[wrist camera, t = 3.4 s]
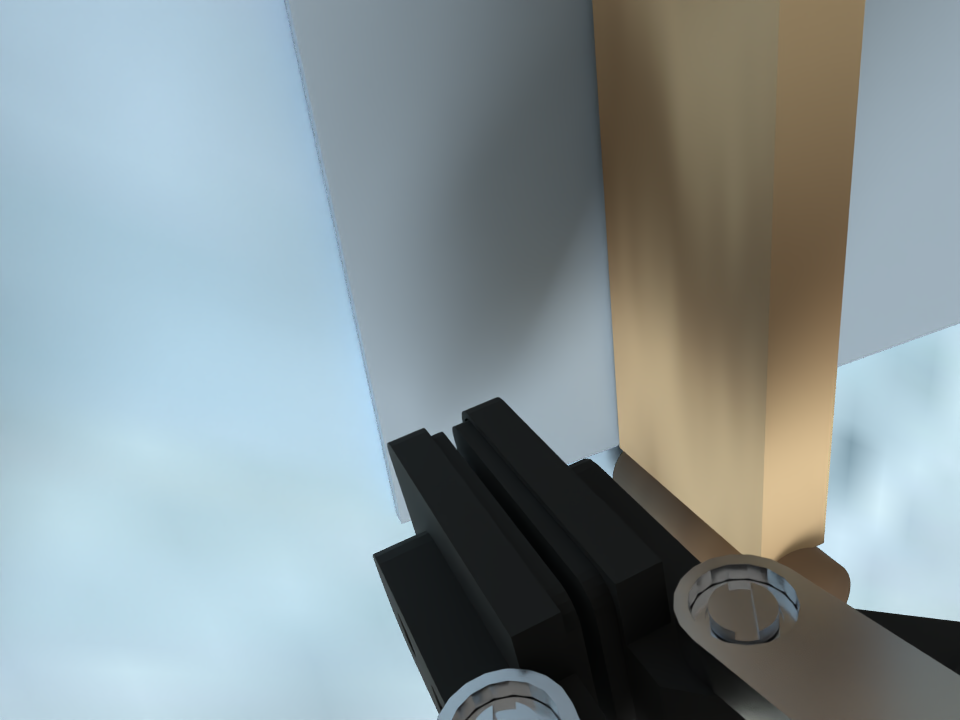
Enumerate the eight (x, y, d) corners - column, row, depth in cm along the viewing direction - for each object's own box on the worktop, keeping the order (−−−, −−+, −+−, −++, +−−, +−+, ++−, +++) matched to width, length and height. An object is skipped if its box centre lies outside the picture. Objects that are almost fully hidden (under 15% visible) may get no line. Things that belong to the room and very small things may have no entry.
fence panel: (575, -79, 11) (796, -120, 8) (670, -93, 12) (922, -137, 8) (615, 513, 16) (764, 665, 12) (682, 487, 17) (846, 626, 13)
